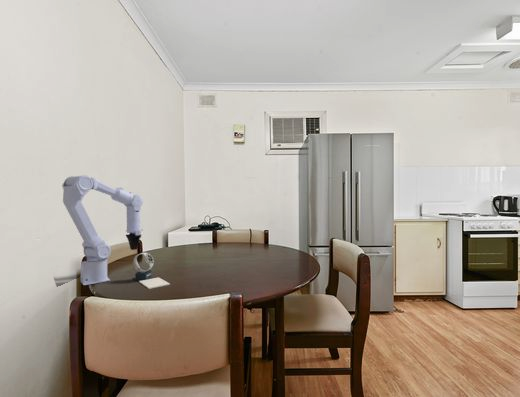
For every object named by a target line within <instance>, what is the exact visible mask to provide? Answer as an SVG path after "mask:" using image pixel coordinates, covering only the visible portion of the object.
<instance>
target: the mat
mask: <svg viewBox="0 0 520 397" xmlns="http://www.w3.org/2000/svg"><path fill="white" fill-rule="evenodd" d="M138 282H139V284H141V285H142V286H144V287H146V288H147V289H148V290H150V289H151V290H152V289H155V288H160V287H166V286H170V285H171V284H170V282H168V281H166V280H164V279H162V278H160V277H159V276H158V277H154V278H149V279H148V280H142V281H138Z"/></svg>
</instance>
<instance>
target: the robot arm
mask: <svg viewBox="0 0 520 397" xmlns="http://www.w3.org/2000/svg"><path fill="white" fill-rule="evenodd" d="M61 187H62V189H63V190H62V191H63V194H62V195H63V196H62V197H63V198H62V202H63V204H64V207H65V208H66V210H67V212H68V214H69V216H70V218H71V220H72V221H73V223H74V226H75V227H76V229H77V231H78V233H79V235H80V236H81V239H82V240H83V242H82V245H81V246H82V248H83V255H84V257H86V261H85V260H84V261H81V262H80V283H81V284H82V285H83V286H89V285H93V284H99V283H106V282H111V279H110V278H109V277H108V259H109V256H111V254H112V249H111V246H109V244H107V243H106V241H105V240H104V239H103V238H102V237H101V236H99V234H98V232H97V230H96V228H95V226H94V224H93V222H92V220H91V218H90V217H89V215H88V213H87V211H86V208H85V207H84V205H83V203H82V201H83V199H84V197H85V196H86V195H87V193H89V192H90V191H91V190H94V191H97V192H99V193H103V194H105V195H108V196H110V198H111V199H112V200H113V201H115V202H118V203H121V204H122V205H124V206H125V207H126V230H125V232H126V233H127V234H125V237H126V239H127V241H128V245H129V248H130V250H131V251H134V250H135V251H136V250H138V246H139V242H140V239H141V237H142V234H141V232H143V231H144V230H143V229H142V228H141V208H142V205H143V202H144V201H143V199H142V198H141V196H140V195H138V194H133V192H131V191H130V192H129V191H127V190H124V187H115V188H114V187H111V186H109V185H108V184H106V183H103V182H102V181H99V180H97V179H96V178H94V177H90V176H88V175H86V174H83V175H76V176H73V175H72V176H71V175H70V176H69V177H66V179H64V182H63V183H62V185H61Z"/></svg>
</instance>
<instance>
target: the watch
mask: <svg viewBox="0 0 520 397" xmlns="http://www.w3.org/2000/svg"><path fill="white" fill-rule="evenodd" d="M140 255H142V256H143V258H144V261H145V262H146V264H148V266H149V267H148V269H141V267H140V265H139V262H138V260H137V259H138V258H139V256H140ZM154 263H155V259H154V257H153V256H152V254H150V253H149V252H141V253H138V254H136V255H135V256H134V258H133V266H134V268H135V270H136V271H137V272H135V279H134V280H135V282H139V281H142V280H148V279H152V268H153V266H154Z"/></svg>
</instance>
